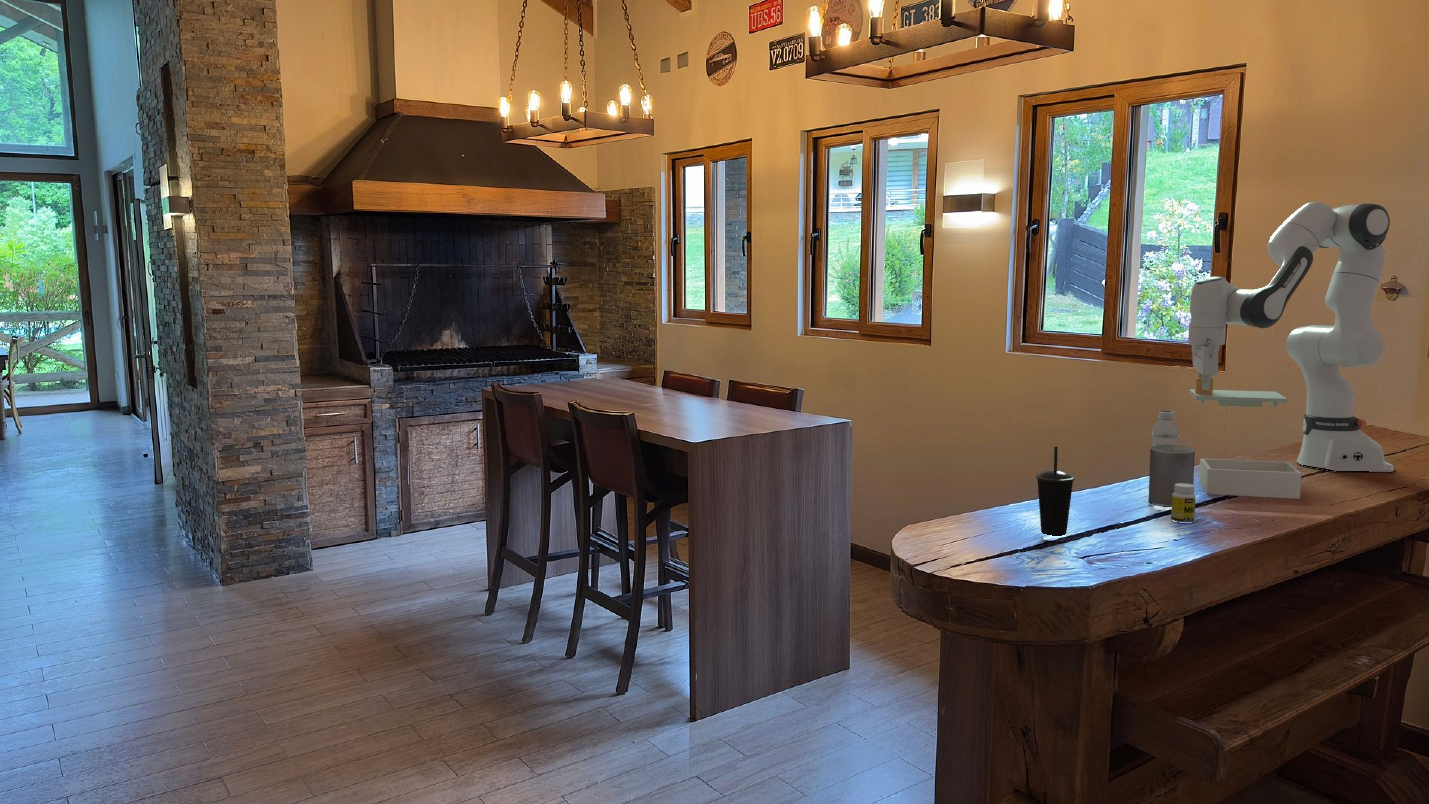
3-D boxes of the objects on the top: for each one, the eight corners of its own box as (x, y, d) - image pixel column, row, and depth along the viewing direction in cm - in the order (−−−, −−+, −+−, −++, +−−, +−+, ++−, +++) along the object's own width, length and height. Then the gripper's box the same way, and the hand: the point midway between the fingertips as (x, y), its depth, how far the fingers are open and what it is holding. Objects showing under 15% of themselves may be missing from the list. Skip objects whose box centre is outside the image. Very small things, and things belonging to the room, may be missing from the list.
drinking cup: (1068, 546, 197) (1071, 451, 194) (1030, 541, 201) (1032, 448, 198) (1076, 537, 203) (1078, 445, 200) (1039, 532, 207) (1041, 442, 204)
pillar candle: (1152, 497, 235) (1154, 438, 233) (1196, 502, 229) (1198, 441, 227) (1144, 506, 227) (1146, 445, 225) (1189, 511, 221) (1191, 448, 219)
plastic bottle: (1171, 485, 248) (1174, 409, 245) (1181, 491, 241) (1184, 413, 238) (1145, 485, 248) (1148, 409, 246) (1154, 491, 242) (1157, 413, 239)
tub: (1287, 488, 240) (1288, 461, 240) (1299, 501, 227) (1301, 473, 226) (1199, 484, 247) (1200, 458, 246) (1206, 497, 234) (1207, 469, 233)
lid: (1275, 400, 258) (1276, 376, 257) (1287, 408, 244) (1288, 383, 243) (1189, 398, 265) (1190, 375, 264) (1196, 405, 251) (1197, 381, 250)
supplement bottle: (1185, 525, 210) (1186, 488, 209) (1166, 520, 214) (1167, 484, 213) (1199, 522, 212) (1200, 485, 211) (1180, 517, 216) (1181, 481, 215)
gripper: (1226, 340, 244) (1222, 394, 246) (1214, 335, 263) (1211, 385, 265) (1198, 340, 246) (1195, 393, 248) (1189, 335, 265) (1186, 384, 267)
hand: (1203, 389), depth 256 cm, fingers closed on lid, 3 cm apart
